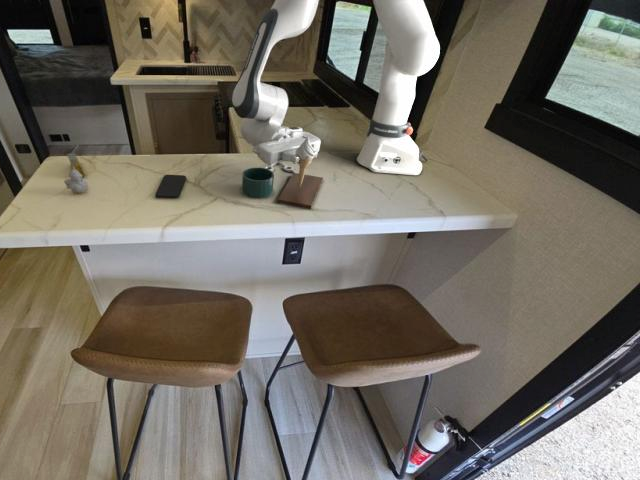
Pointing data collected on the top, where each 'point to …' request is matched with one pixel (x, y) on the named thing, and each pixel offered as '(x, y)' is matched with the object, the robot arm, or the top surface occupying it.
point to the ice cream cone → (304, 158)
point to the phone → (170, 186)
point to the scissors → (283, 165)
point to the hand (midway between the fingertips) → (306, 157)
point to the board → (300, 191)
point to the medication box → (75, 163)
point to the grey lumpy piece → (76, 182)
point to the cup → (257, 182)
